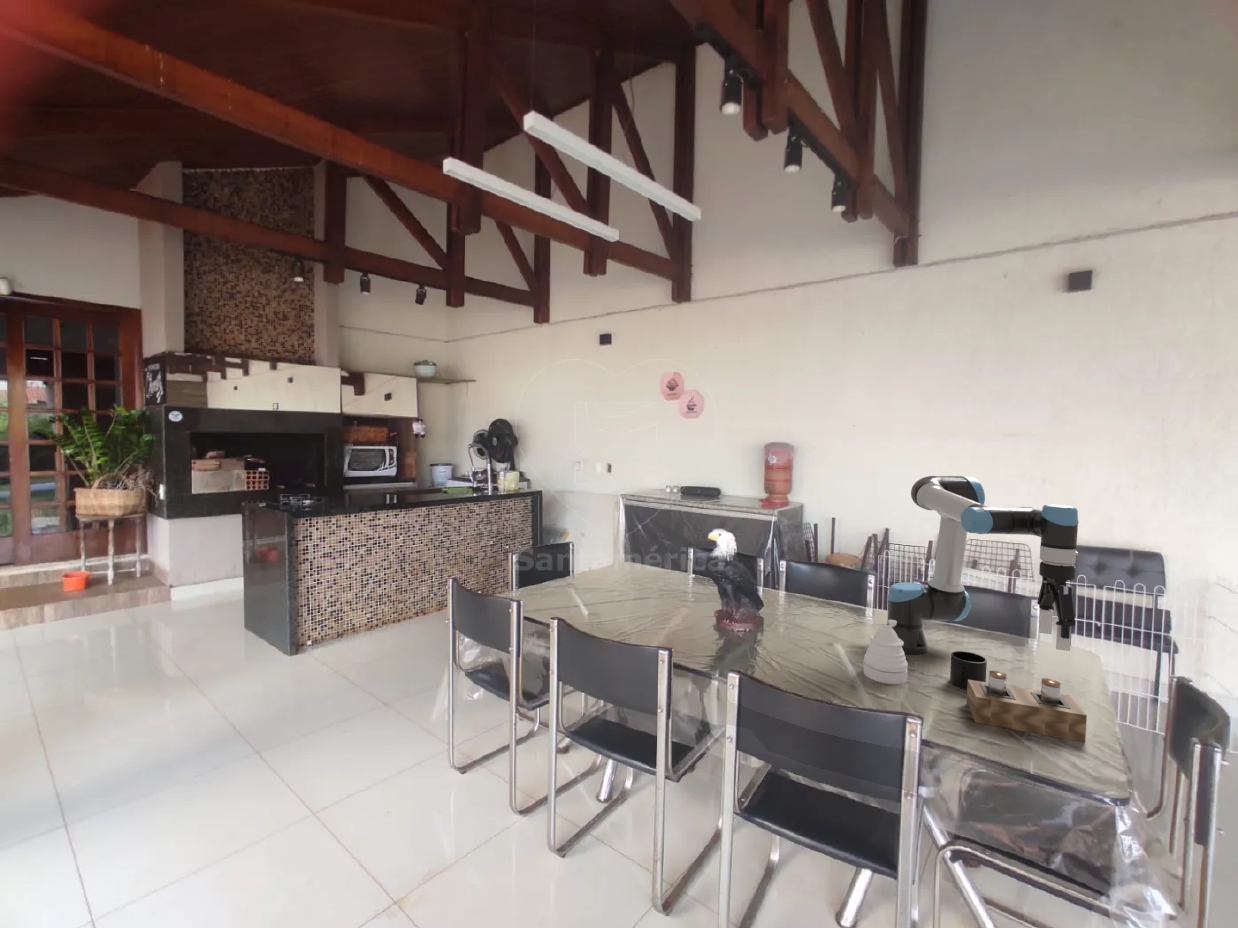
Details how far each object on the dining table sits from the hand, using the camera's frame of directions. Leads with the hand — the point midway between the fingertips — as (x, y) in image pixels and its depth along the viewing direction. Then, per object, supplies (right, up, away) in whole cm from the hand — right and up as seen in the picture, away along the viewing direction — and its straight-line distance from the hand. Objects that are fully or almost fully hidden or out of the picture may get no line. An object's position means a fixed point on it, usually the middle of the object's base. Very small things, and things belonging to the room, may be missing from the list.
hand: (1053, 641), depth 148 cm
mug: (-8, -22, +24) cm, 34 cm away
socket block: (-6, -23, +3) cm, 24 cm away
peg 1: (-12, -18, +5) cm, 22 cm away
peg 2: (-1, -18, 0) cm, 18 cm away
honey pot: (-30, -22, +31) cm, 49 cm away
